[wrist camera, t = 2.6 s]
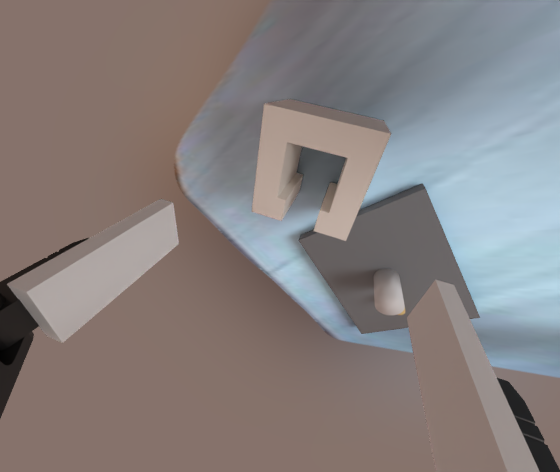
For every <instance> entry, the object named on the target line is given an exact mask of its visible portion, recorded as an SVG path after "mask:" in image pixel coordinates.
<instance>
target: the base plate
mask: <svg viewBox="0 0 560 472" xmlns="http://www.w3.org/2000/svg"><path fill="white" fill-rule="evenodd" d="M299 242H300V243H301V245H302V246H303V248H304V249H305V251H306V252H307V254H308V255H309V257H310V258H311V260H312V261H313V263H314V264H315V266H316V267H317V269H318V270H319V271H320V273H321V274H322V276H323V277H324V279H325V280H326V282H327V283H328V285H329V286H330V288H331V289H332V291H333V292H334V294H335V295H336V297H337V298H338V300H339V301H340V303H341V304H342V306H343V307H344V309H345V310H346V311H347V313H348V314H349V316H350V317H351V319H352V320H353V322H354V323H355V325H356V326H357V328H358V329H359V331H360V332H361V334H365V333H372V332H379V331H386V330H394V329H401V328H408V322H407V317H408V315H409V314H410V313H411V311H412V310H413V309H414V307H415V306H416V305H417V303H418V302H419V301H420V299H421V298H422V297H423V295H424V294H425V293H426V291H427V290H428V289H429V287H430V286H431V285H432V283H433V282H434V281H435V280H439V281H442V282H446V283H449V284H452V285H454V286H455V288H456V290H457V292H458V295H459V297H460V299H461V301H462V303H463V306H464V308H465V310H466V312H467V314H468V316H469V319H473V318H480V317H479V314H478V312H477V309H476V307H475V305H474V302H473V300H472V298H471V295H470V293H469V290H468V288H467V286H466V283H465V281H464V279H463V276H462V274H461V272H460V269H459V267H458V264H457V262H456V260H455V257H454V255H453V253H452V250H451V248H450V245H449V243H448V241H447V238H446V236H445V234H444V231H443V229H442V227H441V224H440V222H439V219H438V217H437V215H436V212H435V210H434V208H433V205H432V203H431V200H430V198H429V196H428V193H427V191H426V189H425V187H424V185H423V184H420V185H418V186H416V187H413V188H411V189H409V190H406V191H404V192H402V193H399V194H397V195H394V196H392V197H390V198H387V199H385V200H383V201H380V202H378V203H376V204H373V205H371V206H368V207H366V208H364V209H361V210H359V211H358V214H357V216H356V218H355V221H354V223H353V225H352V228H351V230H350V232H349V235H348V237H347V240H346V241H344V240H341V239H338V238H335V237H331V236H328V235H325V234H322V233H319V232H315V231H314V230H312V231H309V232H307V233H305V234H302V235H301V236H300V239H299Z"/></svg>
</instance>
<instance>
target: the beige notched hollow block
mask: <svg viewBox="0 0 560 472" xmlns="http://www.w3.org/2000/svg"><path fill="white" fill-rule="evenodd" d="M390 135H391V133H390V131H389V129H388V127H387V125H386V123H385V122H384V120H379V119H375V118H371V117H366V116H362V115H357V114H353V113H349V112H344V111H340V110H336V109H331V108H327V107H323V106H318V105H314V104H310V103H305V102H301V101H297V100H292V99H287V100H282V101H276V102H271V103H265V104H264V109H263V118H262V126H261V135H260V144H259V153H258V161H257V170H256V179H255V188H254V197H253V205H252V212H255V213H258V214H261V215H264V216H267V217H271V218H274V219H277V220H280V221H282V219H283V218H284V216H285V215H286V213H287V211H288V210H289V208H290V206H291V205H292V203H293V201H294V200H295V198H296V197H297V195H298V193H299V191H300V187H301V183H302V178H303V174H299V173H297V168H298V164H299V159H300V154H301V150H302V146H304V147H308V148H311V149H315V150H319V151H323V152H327V153H331V154H335V155H338V156H342V157H346V160H345V163H344V166H343V168H342V171H341V174H340V177H339V180H338V183H337V184H335V183H332V182H330V184H329V186H328V189H327V192H326V195H325V198H324V200H323V203H322V206H321V209H320V212H319V215H318V218H317V221H316V225H315V228H314V231H315V232H319V233H322V234H325V235H328V236H331V237H335V238H338V239H341V240H344V241H346V240H347V237H348V235H349V232H350V230H351V228H352V225H353V223H354V221H355V218H356V216H357V214H358V211H359V209H360V206H361V204H362V202H363V199H364V197H365V195H366V192H367V190H368V188H369V185H370V183H371V180H372V178H373V176H374V173H375V171H376V169H377V166H378V164H379V161H380V159H381V157H382V154H383V152H384V150H385V147H386V145H387V143H388V140H389V138H390Z"/></svg>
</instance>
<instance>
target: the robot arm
mask: <svg viewBox="0 0 560 472" xmlns="http://www.w3.org/2000/svg"><path fill="white" fill-rule="evenodd" d="M178 244H179V242H178V235H177V227H176V219H175V212H174V204H173V202H170V201H166V200H163V199H159V200H158V201H156V202H154V203H152V204H151V205H149V206H147V207H145V208H143V209H141V210H140V211H138V212H136V213H134V214H132V215H131V216H129V217H127V218H125V219H123V220H122V221H120V222H118V223H116V224H114V225H113V226H111V227H109V228H107V229H105V230H104V231H102V232H100V233H98V234H96V235H95V236H93V237H91V238H86V239H83V240H80V241H77V242H74V243H72V244H70V245H68V246H66V247H64V248H62V249H60V250H59V252H55V253H53V254H51V255H49V256H48V258H44V259H42V260H40V261H38V262H36V263H34V264H33V265H31V266H29V267H27V268H25V269H24V270H21V271H20V272H18V273H16V274H14V275H12V276H10V277H8V278H7V279H5V280H3V281H1V282H0V418H1V416H2V413H3V411H4V408H5V406H6V403H7V401H8V399H9V396H10V394H11V391H12V389H13V387H14V384H15V382H16V379H17V377H18V375H19V372H20V370H21V367H22V365H23V362H24V360H25V358H26V355H27V353H28V350H29V348H30V345H31V343H32V341H33V336H34V334H33V332H32V330H34V329H35V328H37V327H38V326H39V327H40V328H41V330H42V331H43V332H44V333H45V335H46V336H48V337H51V338H53V339H55V340H58V341H60V342H62V343H63V342H64V341H65V340H67V339H68V338H69V337H70V336H71V335H72V334H73V333H75V332H76V331H77V330H78V329H79V328H81V327H82V326H83V325H84V324H85V323H86V322H88V321H89V320H90V319H91V318H92V317H93V316H95V315H96V314H97V313H98V312H99V311H101V310H102V309H103V308H104V307H105V306H106V305H108V304H109V303H110V302H111V301H112V300H113V299H115V298H116V297H117V296H118V295H119V294H120V293H122V292H123V291H124V290H125V289H126V288H127V287H129V286H130V285H131V284H132V283H133V282H134V281H136V280H137V279H138V278H139V277H140V276H142V275H143V274H144V273H145V272H146V271H147V270H149V269H150V268H151V267H152V266H153V265H154V264H156V263H157V262H158V261H159V260H160V259H161V258H163V257H164V256H165V255H166V254H167V253H169V252H170V251H171V250H172V249H173V248H174V247H176V246H177V245H178ZM407 322H408V327H409V332H410V338H411V343H412V348H413V353H414V359H415V364H416V369H417V375H418V380H419V385H420V390H421V396H422V401H423V406H424V412H425V417H426V422H427V427H428V432H429V438H430V443H431V448H432V454H433V459H434V465H435V470H436V472H560V470H559V468H558V466H557V464H556V462H555V460H554V458H553V456H552V454H551V452H550V450H549V448H548V446H547V445H545V444H544V438H543V436H542V435H541V433H540V431H539V429H538V427H537V426H535V421H534V419H533V417H532V415H531V413H530V411H529V409H528V407H527V405H526V403H525V401H524V400H523V399H522V398H521V396H520V395H519V394H518V393H517V391H516V390H515V389H514V388H513V387H512V385H511V384H510V383H509V382H508V381H505V380H502V379H499V378H496V375H495V373H494V371H493V369H492V367H491V364H490V362H489V360H488V358H487V356H486V354H485V351H484V349H483V347H482V345H481V343H480V340H479V338H478V336H477V334H476V332H475V330H474V327H473V325H472V323H471V321H470V319H469V316H468V314H467V312H466V310H465V308H464V306H463V303H462V301H461V299H460V297H459V295H458V292H457V290H456V288H455V286H454V285H452V284H449V283H446V282H442V281H439V280H435V281H434V282H433V283H432V285H431V286H430V287H429V289H428V290H427V291H426V293H425V294H424V295H423V297H422V298H421V299H420V301H419V302H418V303H417V305H416V306H415V307H414V309H413V310H412V311H411V313H410V314H409V315H408V317H407Z"/></svg>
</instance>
